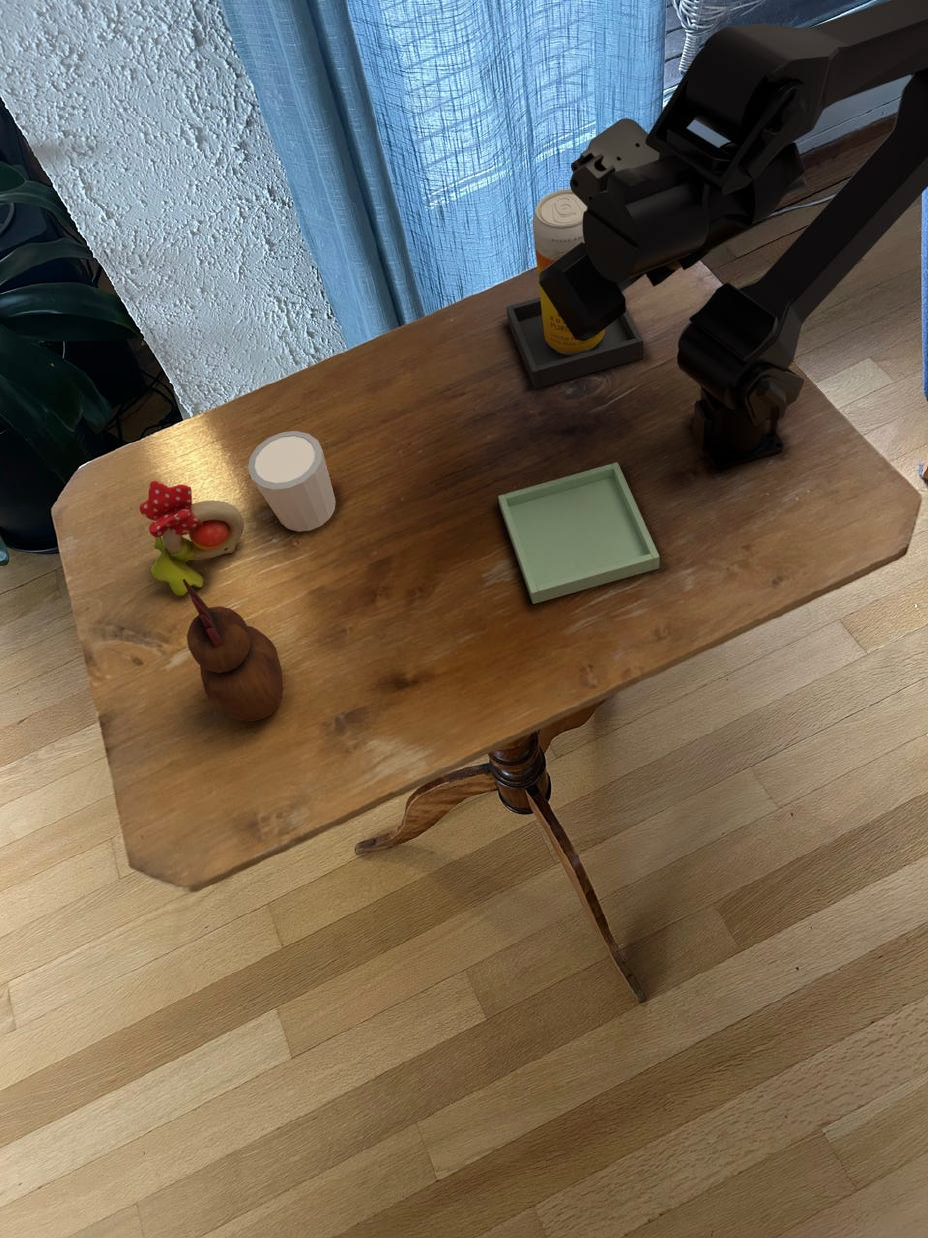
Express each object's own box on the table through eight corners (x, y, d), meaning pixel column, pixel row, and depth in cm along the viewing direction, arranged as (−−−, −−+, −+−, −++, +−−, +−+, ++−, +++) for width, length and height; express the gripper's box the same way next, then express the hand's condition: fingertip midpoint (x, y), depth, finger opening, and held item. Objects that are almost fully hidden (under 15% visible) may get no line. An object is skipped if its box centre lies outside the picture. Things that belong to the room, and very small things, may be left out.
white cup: (331, 539, 91) (310, 490, 86) (262, 534, 93) (237, 486, 87) (350, 482, 95) (331, 431, 89) (283, 478, 96) (260, 428, 91)
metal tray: (611, 294, 104) (610, 276, 102) (643, 358, 98) (643, 340, 96) (508, 324, 104) (505, 306, 102) (534, 389, 98) (532, 371, 96)
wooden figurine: (227, 667, 85) (156, 566, 73) (292, 657, 85) (231, 554, 72) (223, 737, 82) (147, 644, 69) (291, 727, 81) (227, 631, 69)
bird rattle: (226, 540, 96) (131, 558, 92) (231, 449, 88) (128, 464, 84) (249, 584, 93) (152, 605, 88) (257, 494, 85) (151, 511, 81)
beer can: (551, 364, 99) (538, 235, 86) (539, 325, 102) (525, 195, 90) (611, 351, 98) (607, 219, 86) (597, 311, 102) (591, 179, 89)
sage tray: (617, 474, 90) (617, 461, 89) (659, 568, 84) (659, 556, 83) (500, 507, 90) (497, 495, 89) (532, 604, 84) (531, 593, 83)
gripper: (730, 44, 71) (619, 138, 86) (546, 174, 66) (461, 250, 81) (806, 181, 74) (686, 250, 88) (635, 317, 69) (537, 366, 83)
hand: (594, 275), depth 85 cm, fingers open, 9 cm apart
